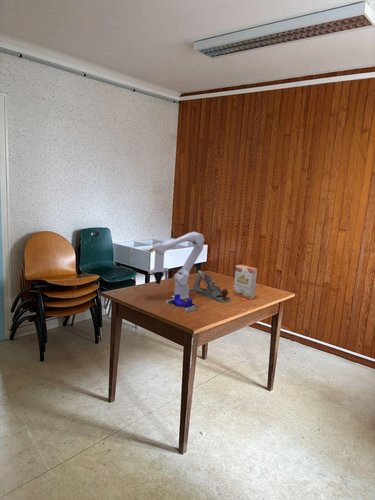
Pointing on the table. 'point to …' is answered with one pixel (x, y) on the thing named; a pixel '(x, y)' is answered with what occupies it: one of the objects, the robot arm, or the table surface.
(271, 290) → the table surface
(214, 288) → the hand plane
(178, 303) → the cable clip
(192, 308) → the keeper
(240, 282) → the cracker box
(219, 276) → the table surface
